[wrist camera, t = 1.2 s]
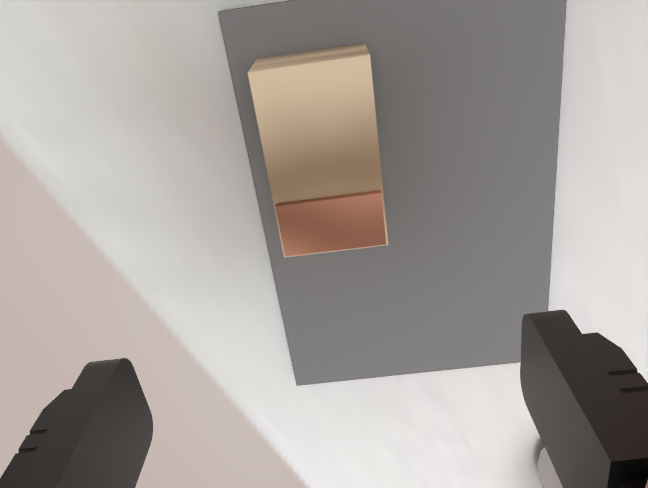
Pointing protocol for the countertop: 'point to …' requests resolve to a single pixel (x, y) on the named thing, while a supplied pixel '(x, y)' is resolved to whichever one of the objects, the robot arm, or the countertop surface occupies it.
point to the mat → (423, 181)
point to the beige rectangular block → (321, 148)
